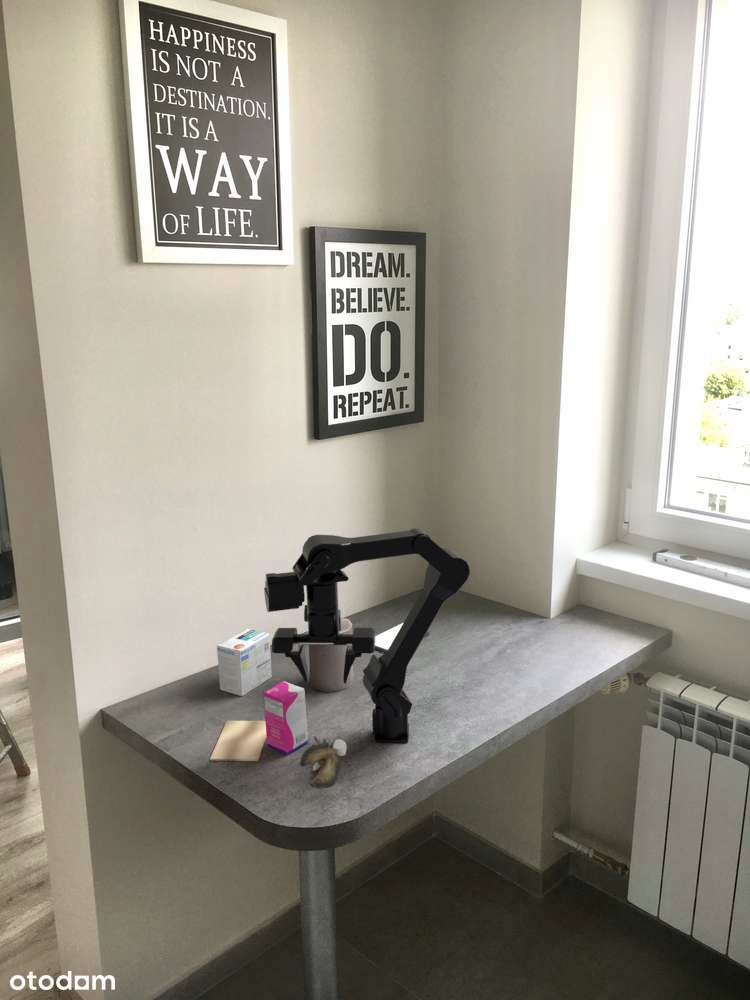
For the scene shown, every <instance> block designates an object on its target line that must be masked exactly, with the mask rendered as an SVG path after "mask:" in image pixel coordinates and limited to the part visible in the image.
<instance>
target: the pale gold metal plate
mask: <svg viewBox="0 0 750 1000" xmlns="http://www.w3.org/2000/svg"><path fill="white" fill-rule="evenodd" d="M266 741H267V735H266V722H265V720H226V722H225V724H224V726H223V729H222V731H221V734H220V735H219V738H218V740H217V742H216V744H215V746H214V749H213V751H212V753H211V756H210V758H209V760H210V761H211V760H212V761H213V762H214V760H215V762H217V761H219V762H220V761H225V762H230V761H231V762H259V761H260V757H261V754H262V751H263V749H264V746H265V742H266ZM212 761H211V762H212Z"/></svg>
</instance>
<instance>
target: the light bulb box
mask: <svg viewBox="0 0 750 1000" xmlns="http://www.w3.org/2000/svg"><path fill="white" fill-rule="evenodd" d="M270 639H271V638H270V633H267V632H262V631H258V630H254V629H251V628H246V629H244V630H242V631H241V632H239V633H237V634H236V635H234V636H232V637H230V638H228V639H226V640H225V641H223V642H221V643H219V644H216V653H217V654H216V655H217V663H218V675H219V689H220V690H221V691H224V692H227V693H230V694H232V695H233V694H234V695H236V696H240V697H243V696H245V695H246V694H248V693H249V692H252V691H253V689H256V688H258V687H259V686H260V685H262V684H264V683H265V682H266V681H268V680H269V679H271V678H272V676H273V675H272V658H271V656H272V654H271V641H270Z"/></svg>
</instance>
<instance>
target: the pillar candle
mask: <svg viewBox="0 0 750 1000" xmlns="http://www.w3.org/2000/svg"><path fill="white" fill-rule="evenodd" d="M339 634H353V623H352V622H351V621H350V619H348V618H344V617H341V631H339ZM346 650H347V645H308V657H309V659H308V660H309V662H308V663H309V669H308V672H309V684H310V686H311V687H312V688H313V689H315V690H317V691H320V692H325V693H329V692H330V693H332V692H333V693H334V692H340V691H345V690H346V689H349V687H351V686H352V684H353V681H354V667H353V665H354V663H353V664H352V666H351V669H350V672H349V675H348V678H347V682H346V683H344V680H343V676H344V665H345V654H346Z"/></svg>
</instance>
